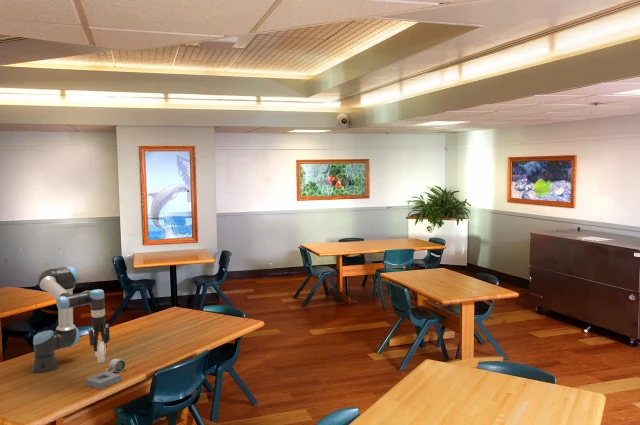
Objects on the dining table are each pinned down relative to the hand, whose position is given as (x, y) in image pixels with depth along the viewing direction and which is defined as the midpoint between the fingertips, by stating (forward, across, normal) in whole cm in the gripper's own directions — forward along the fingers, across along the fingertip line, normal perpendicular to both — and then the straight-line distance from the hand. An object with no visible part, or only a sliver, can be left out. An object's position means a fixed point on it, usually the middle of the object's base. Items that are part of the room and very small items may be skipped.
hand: (100, 355), depth 309 cm
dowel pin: (+4, 0, 0) cm, 4 cm away
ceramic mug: (+17, +16, +9) cm, 25 cm away
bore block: (+17, 0, 0) cm, 17 cm away
